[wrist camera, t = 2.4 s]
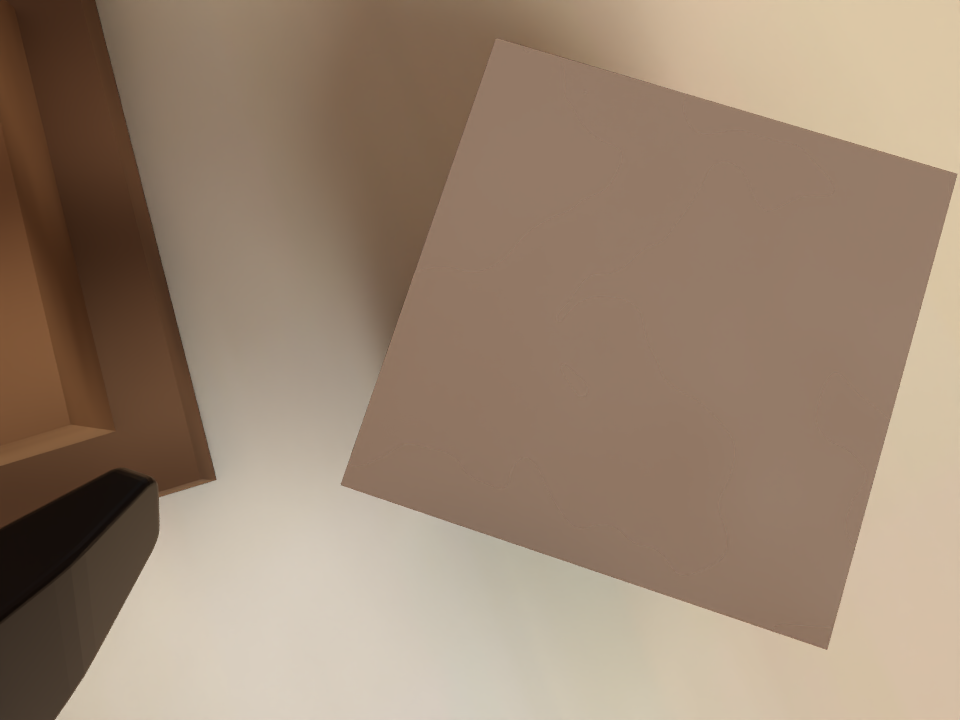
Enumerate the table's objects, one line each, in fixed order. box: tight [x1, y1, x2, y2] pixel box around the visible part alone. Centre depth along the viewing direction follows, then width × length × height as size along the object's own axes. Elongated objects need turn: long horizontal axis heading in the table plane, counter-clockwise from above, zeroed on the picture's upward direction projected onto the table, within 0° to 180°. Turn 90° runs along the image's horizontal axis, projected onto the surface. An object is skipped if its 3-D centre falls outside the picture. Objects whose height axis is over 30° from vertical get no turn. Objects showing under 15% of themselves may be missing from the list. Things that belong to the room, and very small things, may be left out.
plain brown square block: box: [341, 38, 957, 650], centre depth 15 cm, size 6×6×10 cm
